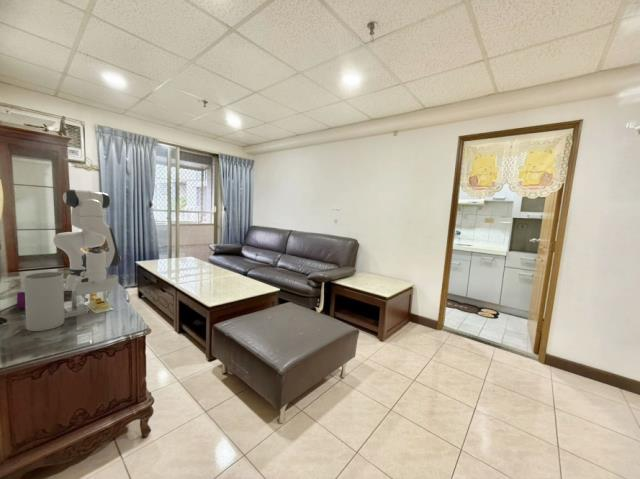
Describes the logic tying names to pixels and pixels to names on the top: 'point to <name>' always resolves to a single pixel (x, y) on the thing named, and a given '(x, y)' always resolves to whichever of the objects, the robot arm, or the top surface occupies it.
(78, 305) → the toggle switch block
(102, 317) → the top surface
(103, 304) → the brass hook
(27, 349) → the top surface
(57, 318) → the cylinder vase
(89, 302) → the sage mat
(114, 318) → the top surface
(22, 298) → the mounting bracket
